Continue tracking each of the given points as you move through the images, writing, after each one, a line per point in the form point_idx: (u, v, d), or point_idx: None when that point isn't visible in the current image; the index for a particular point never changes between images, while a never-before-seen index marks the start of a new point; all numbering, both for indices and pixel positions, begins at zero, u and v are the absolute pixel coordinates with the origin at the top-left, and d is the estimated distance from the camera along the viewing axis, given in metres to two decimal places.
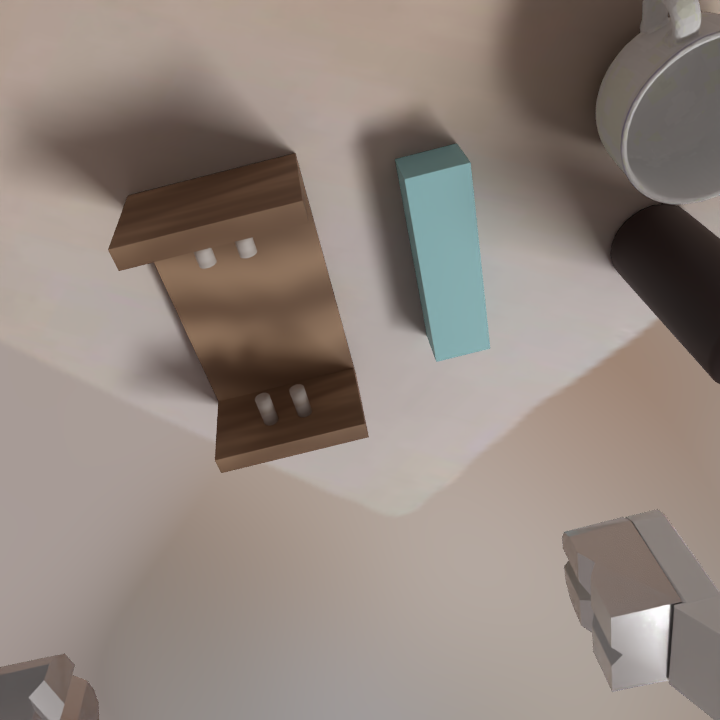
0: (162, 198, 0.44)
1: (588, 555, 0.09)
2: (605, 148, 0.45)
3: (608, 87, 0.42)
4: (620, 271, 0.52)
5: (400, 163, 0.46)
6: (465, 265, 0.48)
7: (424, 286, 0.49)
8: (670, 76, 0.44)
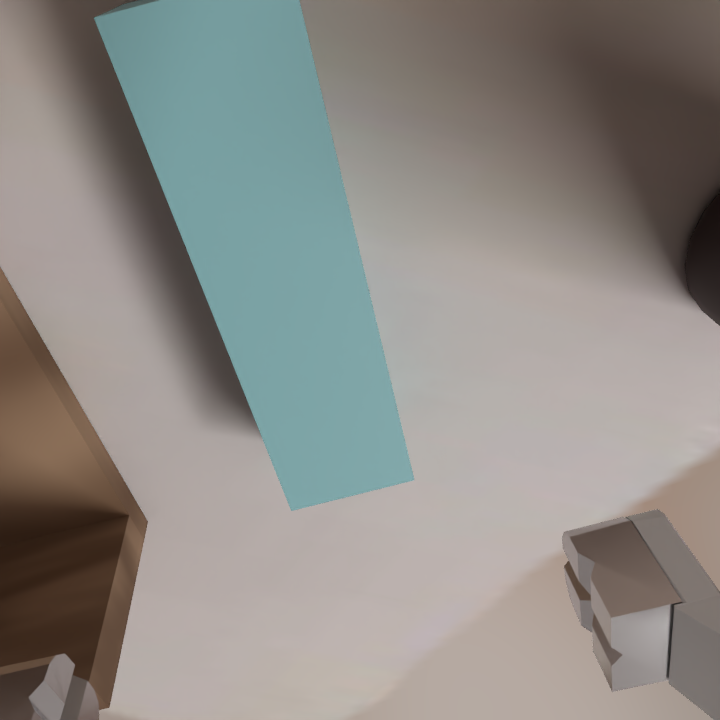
0: None
1: (588, 555, 0.09)
2: None
3: None
4: (711, 304, 0.23)
5: (127, 4, 0.17)
6: (325, 285, 0.19)
7: (225, 338, 0.19)
8: None
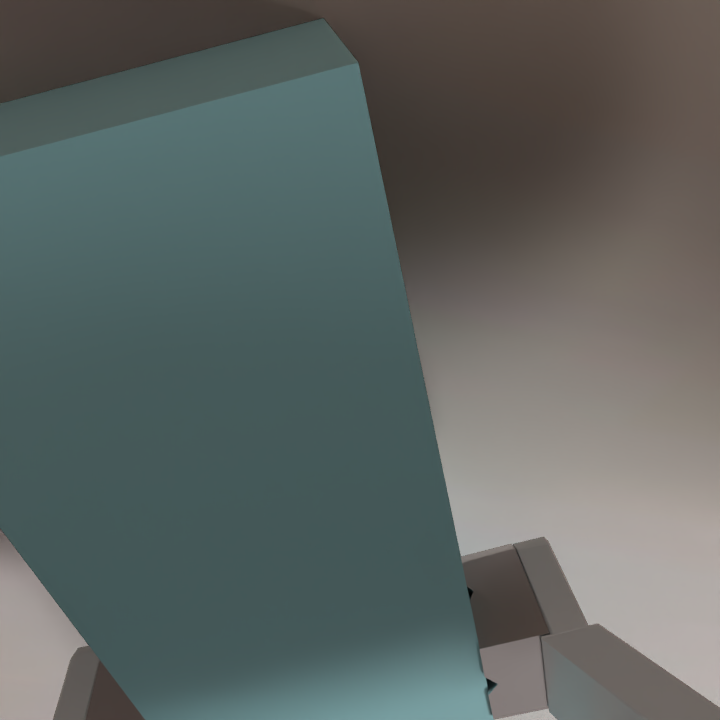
0: None
1: (469, 583, 0.09)
2: None
3: None
4: None
5: None
6: (399, 688, 0.09)
7: None
8: None
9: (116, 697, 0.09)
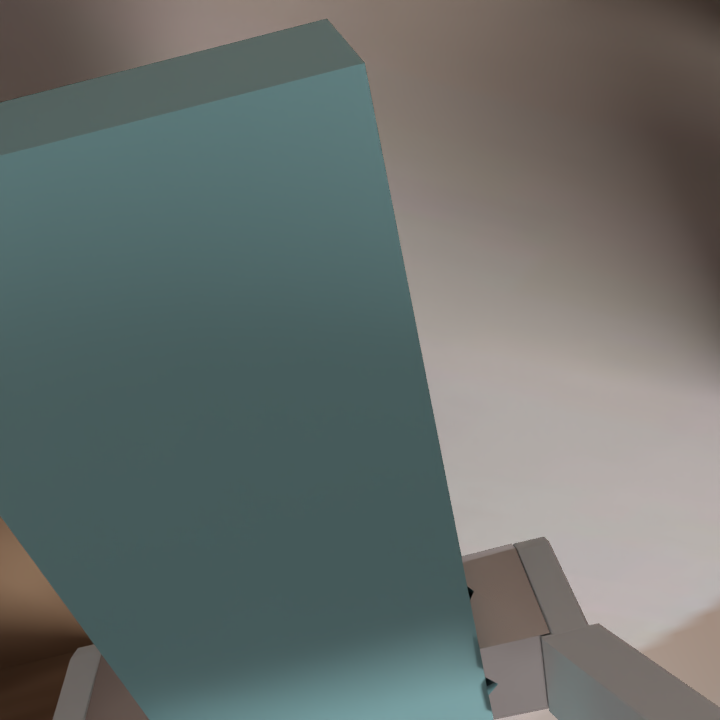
0: None
1: (469, 583, 0.09)
2: None
3: None
4: None
5: None
6: (399, 684, 0.09)
7: None
8: None
9: (116, 697, 0.09)
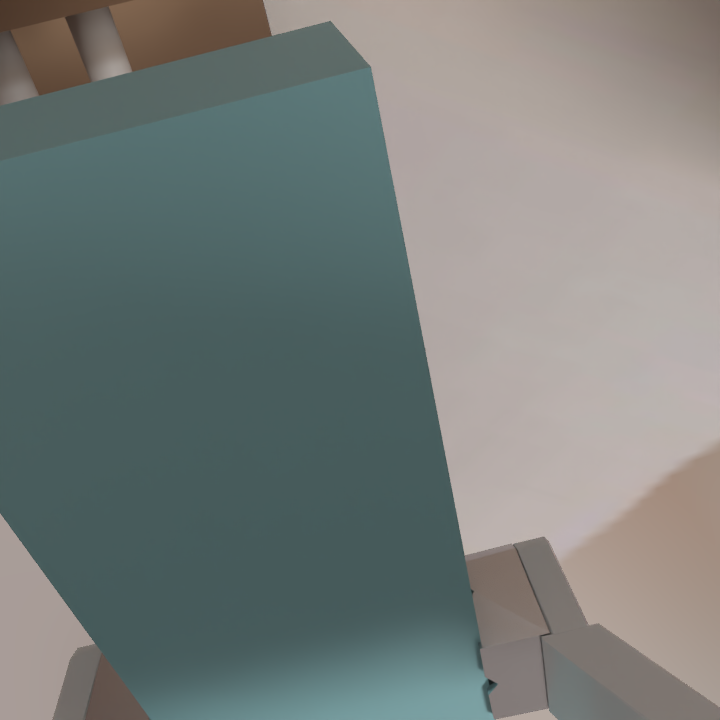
0: None
1: None
2: None
3: None
4: None
5: None
6: (402, 686, 0.09)
7: None
8: None
9: (116, 697, 0.09)
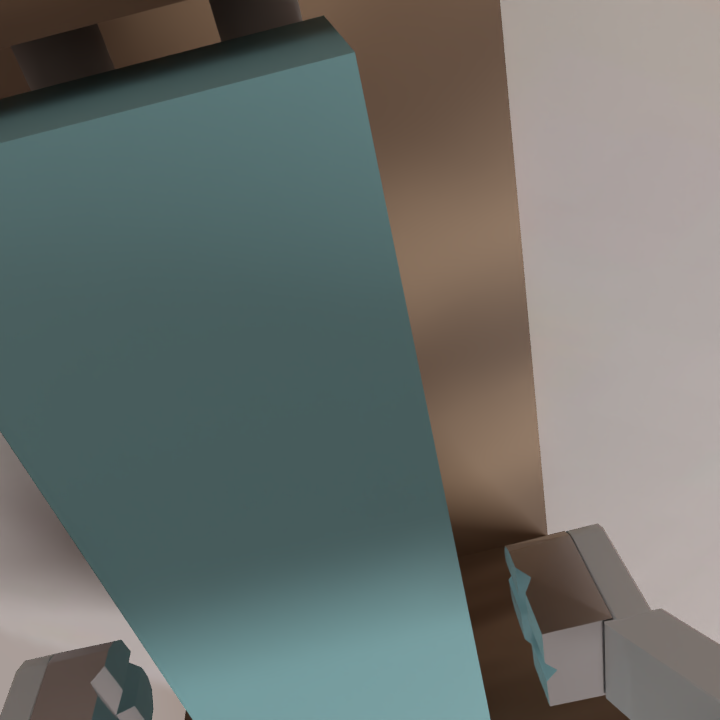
0: None
1: (525, 570, 0.09)
2: None
3: None
4: None
5: None
6: (392, 638, 0.10)
7: None
8: None
9: (57, 711, 0.09)
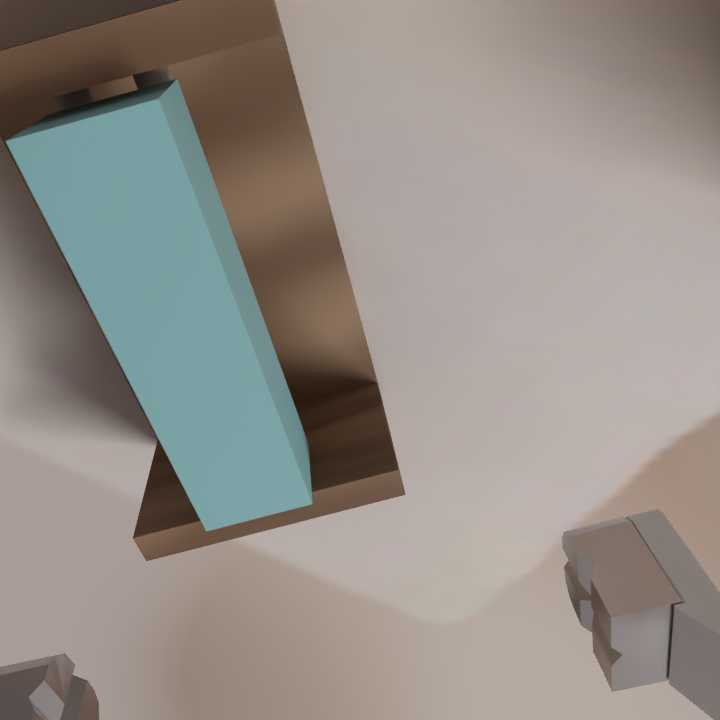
0: None
1: (588, 555, 0.09)
2: None
3: None
4: None
5: (44, 119, 0.21)
6: (214, 341, 0.22)
7: (134, 385, 0.23)
8: None
9: None
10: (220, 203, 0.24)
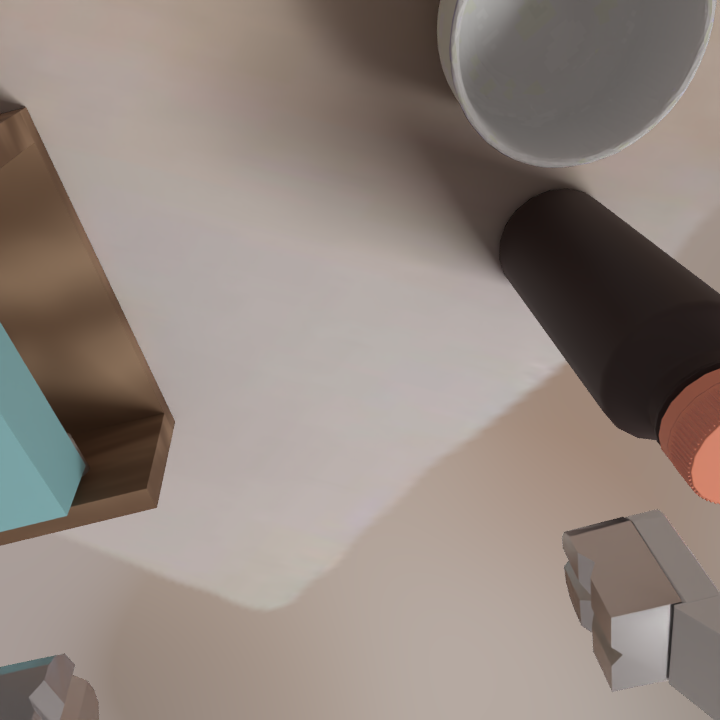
0: None
1: (588, 555, 0.09)
2: None
3: (442, 0, 0.29)
4: (510, 280, 0.39)
5: None
6: None
7: None
8: None
9: None
10: None
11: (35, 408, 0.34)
